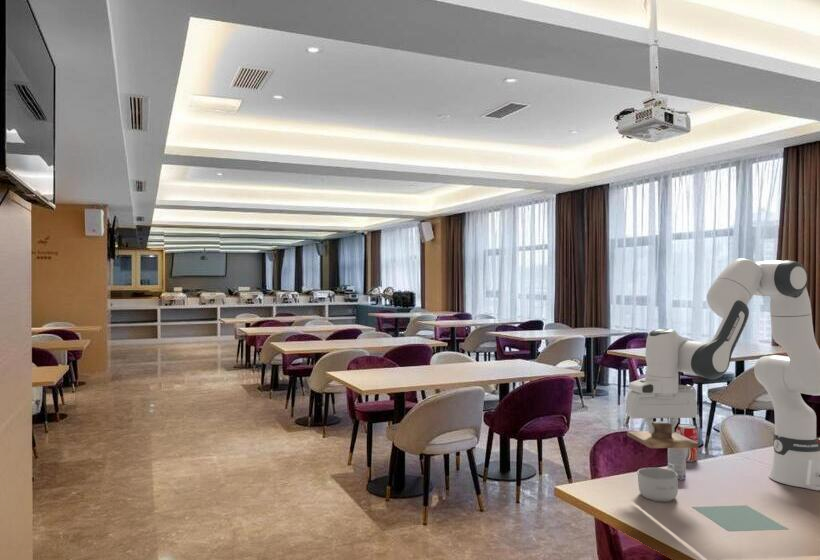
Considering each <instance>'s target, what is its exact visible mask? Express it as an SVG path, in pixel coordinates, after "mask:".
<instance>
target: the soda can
mask: <svg viewBox="0 0 820 560" xmlns="http://www.w3.org/2000/svg"><path fill="white" fill-rule="evenodd" d="M675 432H676V433H678V434H680V435H682V436H684V437H686V438H689V439H691V440H693V441H695V442H697V443H699V433H698V430H697V426H696V425H693V424H689V423H680V424H678V425H677V428H676V429H675ZM698 454H699V446H698V447H696V448H686V463H693V462H696V461H697V460H698V456H699V455H698Z"/></svg>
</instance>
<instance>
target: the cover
mask: <svg viewBox="0 0 820 560" xmlns="http://www.w3.org/2000/svg"><path fill="white" fill-rule="evenodd" d="M651 423H652V425H653V426H654V427H656V434H650V433H649V430H637V431H636V430H635V431H634V430H630V431H626V436H628V437H629V438H631V439H633V440H635V441H637V442H638V443H639V444H642V445H644V446H645V447H647V448H648V449H668V448H696V447H698V448H699V446H700V445H699V444H700V443H699V442H698V443H697V442H695V441H693V440H691V439H689V438H686V437H684V436H682V435H680V434H678V433H676V431H674V433H672V425H671V424H670V423H669V422H667V421H653V422H651Z"/></svg>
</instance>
